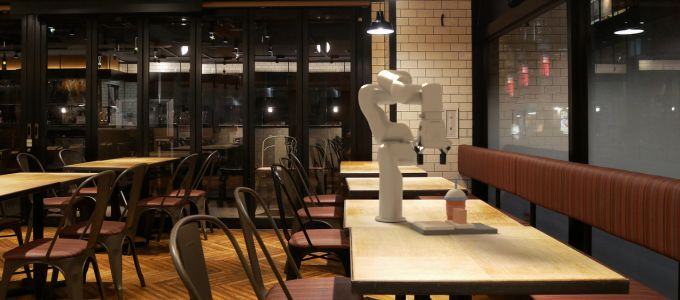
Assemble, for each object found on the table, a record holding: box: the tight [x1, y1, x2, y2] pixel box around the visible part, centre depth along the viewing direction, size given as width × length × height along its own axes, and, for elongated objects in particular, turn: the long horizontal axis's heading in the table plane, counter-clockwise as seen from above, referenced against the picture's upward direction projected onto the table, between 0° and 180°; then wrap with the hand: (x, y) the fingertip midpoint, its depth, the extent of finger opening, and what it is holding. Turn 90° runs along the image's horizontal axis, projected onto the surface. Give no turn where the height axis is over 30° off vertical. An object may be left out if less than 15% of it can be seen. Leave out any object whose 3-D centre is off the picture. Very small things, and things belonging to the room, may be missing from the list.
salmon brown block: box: [444, 208, 475, 229], centre depth 223 cm, size 12×7×6 cm, turn 11°
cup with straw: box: [443, 177, 468, 220], centre depth 242 cm, size 9×9×18 cm
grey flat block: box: [409, 220, 499, 236], centre depth 223 cm, size 15×28×3 cm, turn 101°
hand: (431, 164), depth 220 cm, fingers open, 9 cm apart
